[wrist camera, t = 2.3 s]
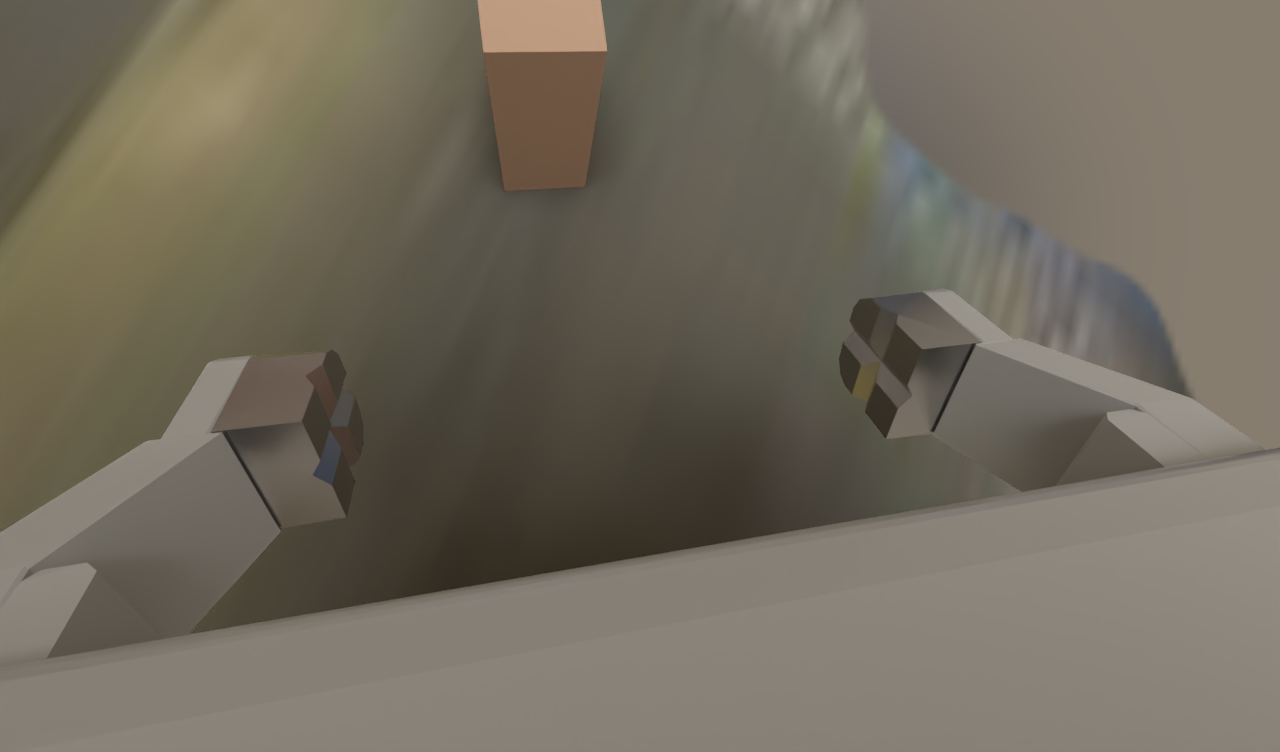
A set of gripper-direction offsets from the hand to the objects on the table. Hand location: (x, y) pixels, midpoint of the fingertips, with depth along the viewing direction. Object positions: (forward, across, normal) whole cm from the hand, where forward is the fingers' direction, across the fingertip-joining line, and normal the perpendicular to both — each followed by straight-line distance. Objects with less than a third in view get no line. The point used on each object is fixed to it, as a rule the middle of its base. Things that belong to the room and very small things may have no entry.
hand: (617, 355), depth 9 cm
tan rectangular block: (+20, 0, +2) cm, 20 cm away
